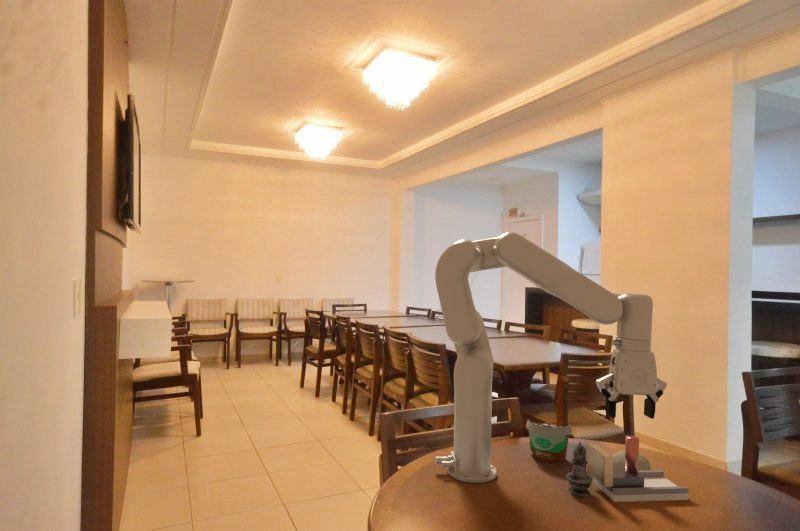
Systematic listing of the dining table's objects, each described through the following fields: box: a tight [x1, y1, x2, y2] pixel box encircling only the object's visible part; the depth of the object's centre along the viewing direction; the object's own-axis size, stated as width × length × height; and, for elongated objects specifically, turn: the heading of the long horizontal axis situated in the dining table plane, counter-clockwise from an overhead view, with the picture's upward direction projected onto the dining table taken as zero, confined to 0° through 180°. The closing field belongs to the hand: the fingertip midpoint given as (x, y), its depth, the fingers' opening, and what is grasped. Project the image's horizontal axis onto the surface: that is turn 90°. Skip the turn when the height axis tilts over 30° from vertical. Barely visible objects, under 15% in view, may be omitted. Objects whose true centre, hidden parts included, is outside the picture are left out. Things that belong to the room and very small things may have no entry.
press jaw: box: [587, 435, 644, 491], centre depth 116 cm, size 10×8×11 cm
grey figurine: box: [565, 441, 593, 499], centre depth 115 cm, size 6×6×12 cm
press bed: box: [592, 469, 690, 503], centre depth 116 cm, size 18×10×3 cm, turn 96°
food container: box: [525, 418, 573, 465], centre depth 134 cm, size 12×6×10 cm, turn 68°
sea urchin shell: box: [612, 449, 651, 471], centre depth 129 cm, size 9×8×8 cm
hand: (629, 416), depth 116 cm, fingers open, 9 cm apart
